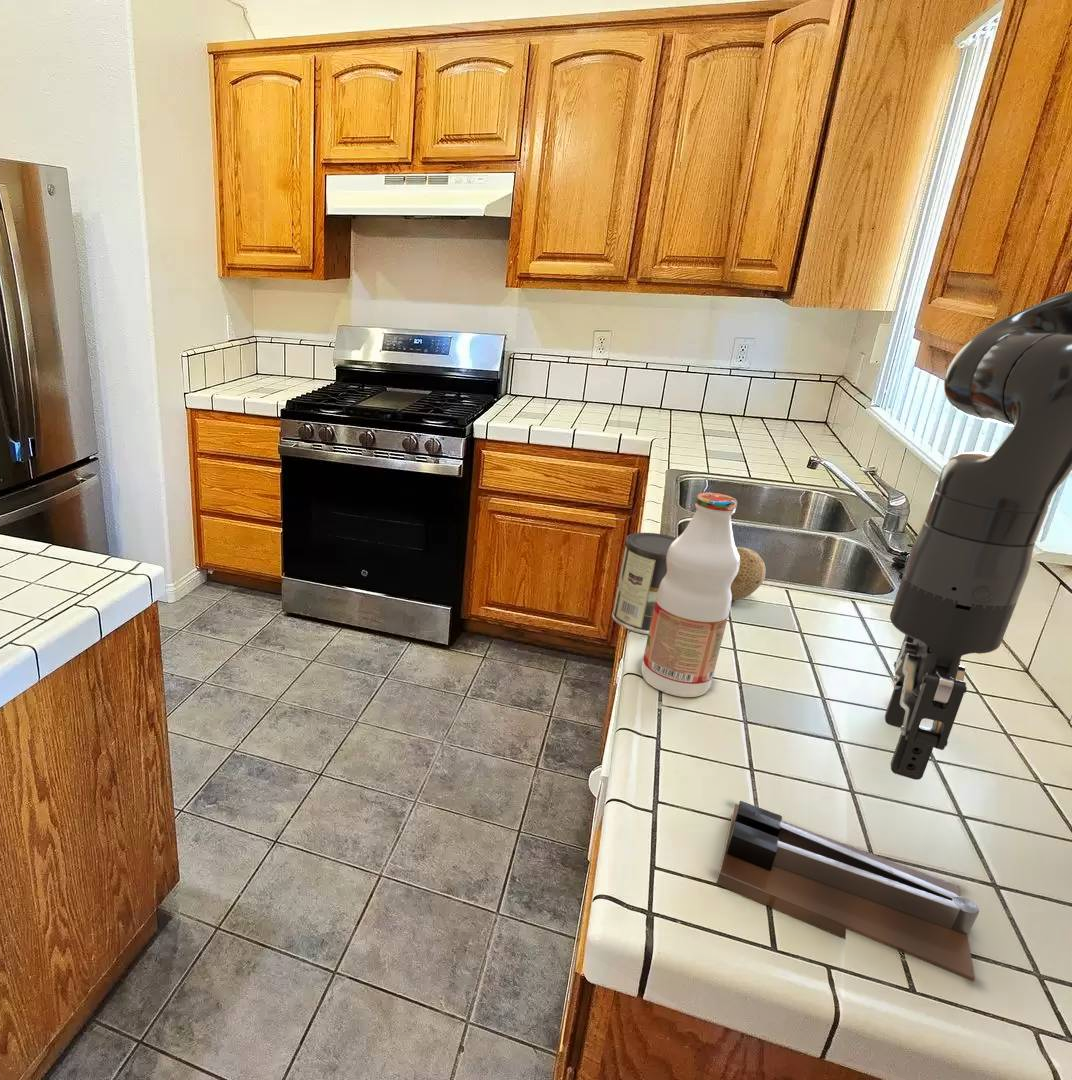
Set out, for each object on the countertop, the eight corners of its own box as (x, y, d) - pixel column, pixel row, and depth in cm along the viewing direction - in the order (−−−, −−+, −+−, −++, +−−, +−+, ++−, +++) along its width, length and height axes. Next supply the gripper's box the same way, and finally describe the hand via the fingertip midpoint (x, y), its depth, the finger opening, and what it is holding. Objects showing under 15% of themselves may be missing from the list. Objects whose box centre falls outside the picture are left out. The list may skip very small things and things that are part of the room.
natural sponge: (728, 612, 131) (741, 560, 128) (691, 591, 139) (703, 541, 135) (768, 607, 134) (782, 555, 130) (729, 586, 142) (742, 537, 138)
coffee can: (679, 617, 129) (697, 540, 124) (671, 641, 120) (689, 560, 115) (617, 601, 133) (632, 527, 128) (605, 624, 125) (620, 545, 120)
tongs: (726, 853, 76) (731, 834, 75) (734, 818, 81) (740, 800, 80) (973, 954, 66) (983, 934, 65) (966, 906, 71) (975, 887, 70)
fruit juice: (660, 700, 104) (704, 509, 94) (628, 665, 113) (665, 486, 102) (723, 697, 105) (773, 509, 95) (686, 663, 114) (728, 486, 104)
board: (954, 897, 74) (959, 885, 73) (969, 991, 64) (975, 978, 64) (732, 814, 83) (735, 803, 83) (716, 884, 74) (719, 872, 73)
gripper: (898, 547, 69) (850, 699, 75) (911, 601, 57) (853, 776, 63) (1001, 566, 65) (942, 724, 71) (1038, 628, 54) (964, 811, 60)
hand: (900, 748), depth 67 cm, fingers open, 8 cm apart
